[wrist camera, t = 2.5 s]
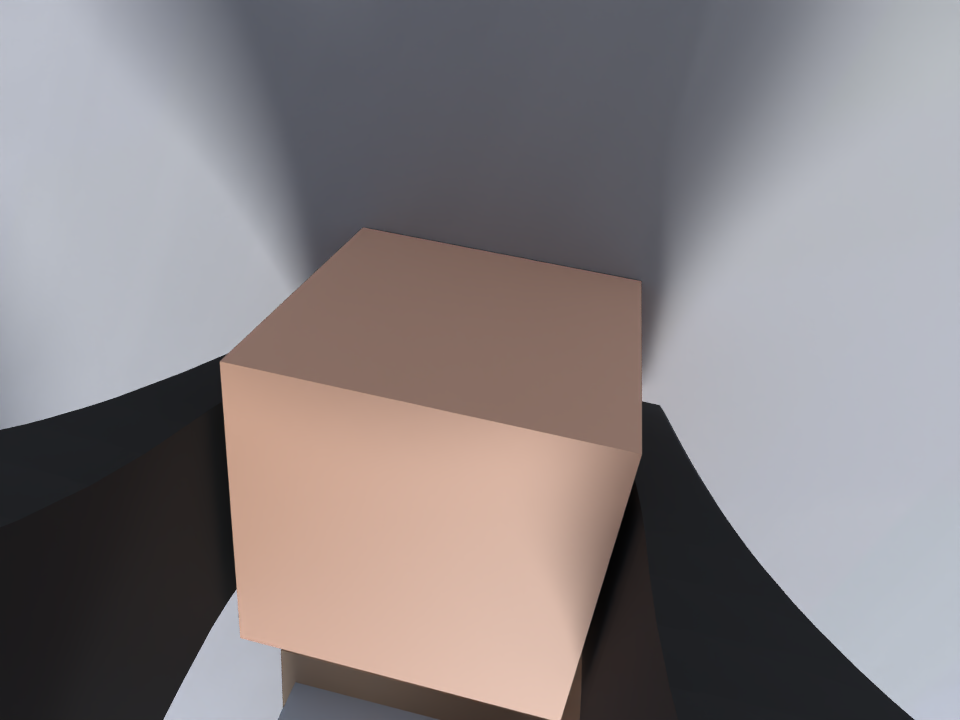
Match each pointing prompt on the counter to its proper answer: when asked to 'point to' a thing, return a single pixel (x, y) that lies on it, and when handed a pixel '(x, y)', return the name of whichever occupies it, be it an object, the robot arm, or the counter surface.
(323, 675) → the walnut base block
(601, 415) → the terracotta block
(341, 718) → the slate middle block
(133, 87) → the counter surface
